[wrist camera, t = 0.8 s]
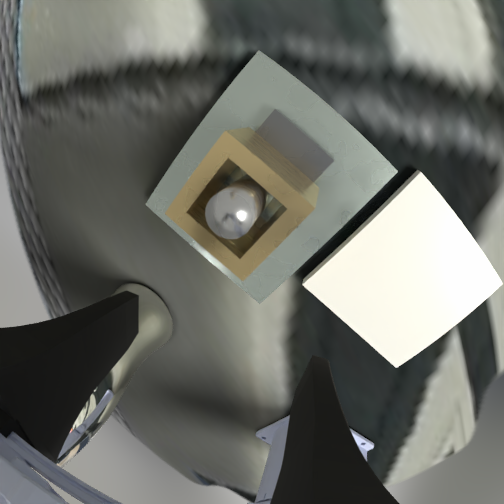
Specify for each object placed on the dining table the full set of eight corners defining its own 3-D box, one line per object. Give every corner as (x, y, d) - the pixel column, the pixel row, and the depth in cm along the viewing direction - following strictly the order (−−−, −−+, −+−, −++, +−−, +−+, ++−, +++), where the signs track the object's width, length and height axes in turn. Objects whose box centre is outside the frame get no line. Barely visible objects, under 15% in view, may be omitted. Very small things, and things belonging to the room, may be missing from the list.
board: (498, 278, 17) (503, 283, 16) (395, 360, 22) (396, 368, 21) (417, 169, 16) (420, 171, 16) (303, 278, 21) (302, 284, 20)
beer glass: (99, 290, 26) (-29, 385, 13) (149, 266, 23) (-10, 387, 10) (139, 354, 28) (35, 465, 14) (193, 342, 25) (79, 487, 11)
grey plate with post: (394, 168, 17) (426, 196, 11) (262, 296, 22) (235, 362, 16) (262, 53, 16) (225, 22, 10) (152, 200, 21) (89, 235, 15)
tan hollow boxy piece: (319, 187, 16) (315, 208, 13) (261, 248, 18) (242, 281, 15) (249, 127, 16) (225, 130, 12) (197, 193, 18) (164, 213, 14)
